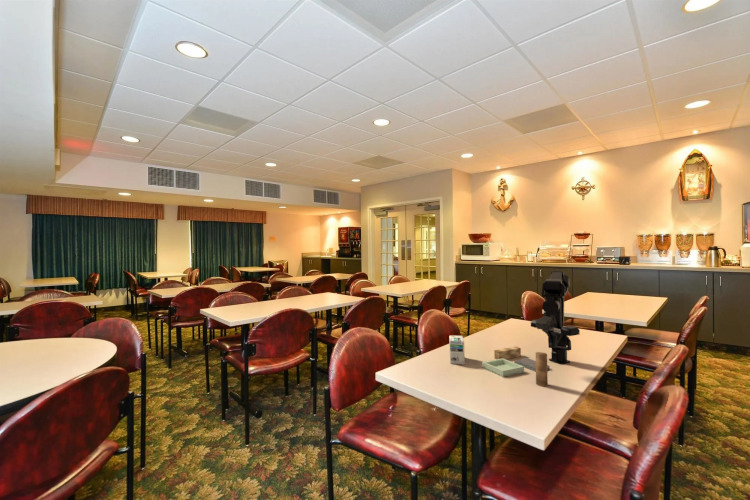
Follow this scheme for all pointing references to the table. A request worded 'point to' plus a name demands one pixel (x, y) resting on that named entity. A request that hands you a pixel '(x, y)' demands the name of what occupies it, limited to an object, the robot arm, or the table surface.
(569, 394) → the table surface
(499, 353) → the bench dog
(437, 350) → the table surface
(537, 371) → the walnut dowel
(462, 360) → the light bulb box
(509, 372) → the tray
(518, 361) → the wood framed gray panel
